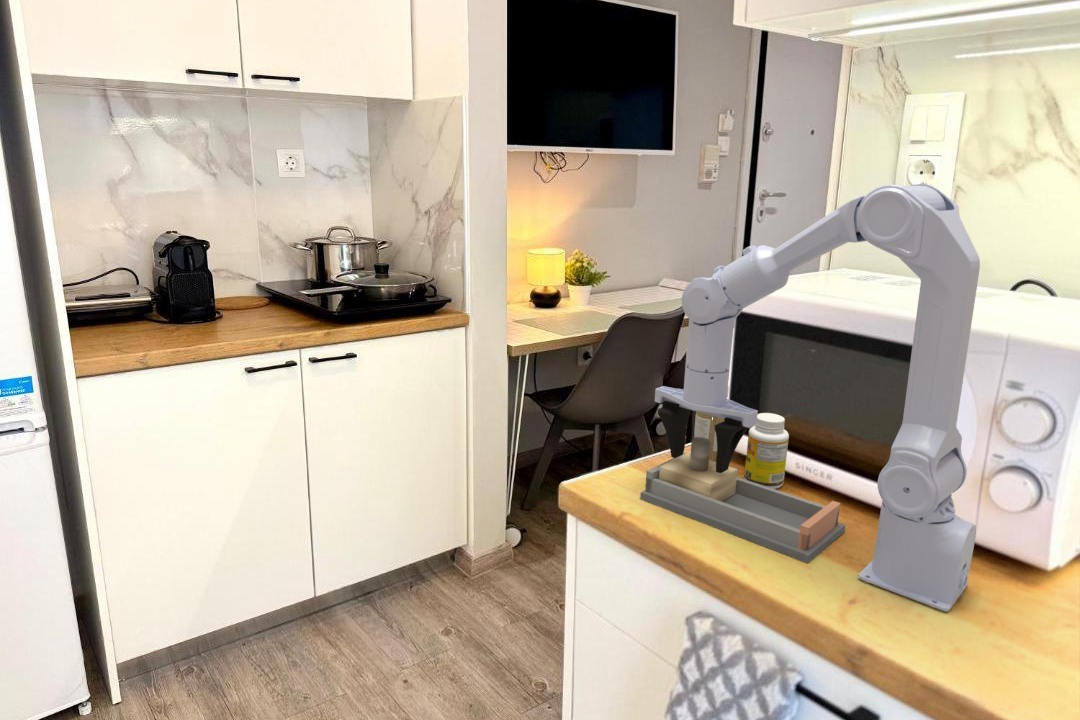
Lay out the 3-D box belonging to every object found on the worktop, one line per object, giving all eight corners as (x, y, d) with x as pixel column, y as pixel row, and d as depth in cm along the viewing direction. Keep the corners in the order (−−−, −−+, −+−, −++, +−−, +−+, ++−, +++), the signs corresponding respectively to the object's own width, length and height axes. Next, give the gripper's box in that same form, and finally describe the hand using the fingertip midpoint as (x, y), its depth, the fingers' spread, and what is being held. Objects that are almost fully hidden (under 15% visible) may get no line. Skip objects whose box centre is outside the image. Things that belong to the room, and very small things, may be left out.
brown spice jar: (725, 472, 114) (733, 387, 110) (696, 473, 113) (703, 388, 110) (714, 461, 118) (722, 378, 115) (686, 461, 118) (693, 379, 114)
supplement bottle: (747, 472, 114) (754, 408, 112) (785, 479, 112) (793, 414, 109) (740, 486, 109) (747, 419, 107) (780, 494, 107) (788, 426, 104)
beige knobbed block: (735, 493, 104) (740, 441, 102) (708, 509, 99) (713, 455, 97) (685, 476, 110) (689, 426, 108) (658, 490, 105) (661, 439, 103)
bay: (844, 531, 97) (848, 503, 96) (807, 563, 89) (811, 532, 88) (683, 476, 112) (685, 451, 111) (640, 498, 104) (642, 472, 103)
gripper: (772, 373, 98) (761, 470, 101) (677, 352, 107) (670, 441, 111) (746, 383, 93) (735, 485, 96) (648, 360, 102) (642, 454, 106)
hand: (699, 463), depth 103 cm, fingers open, 6 cm apart
